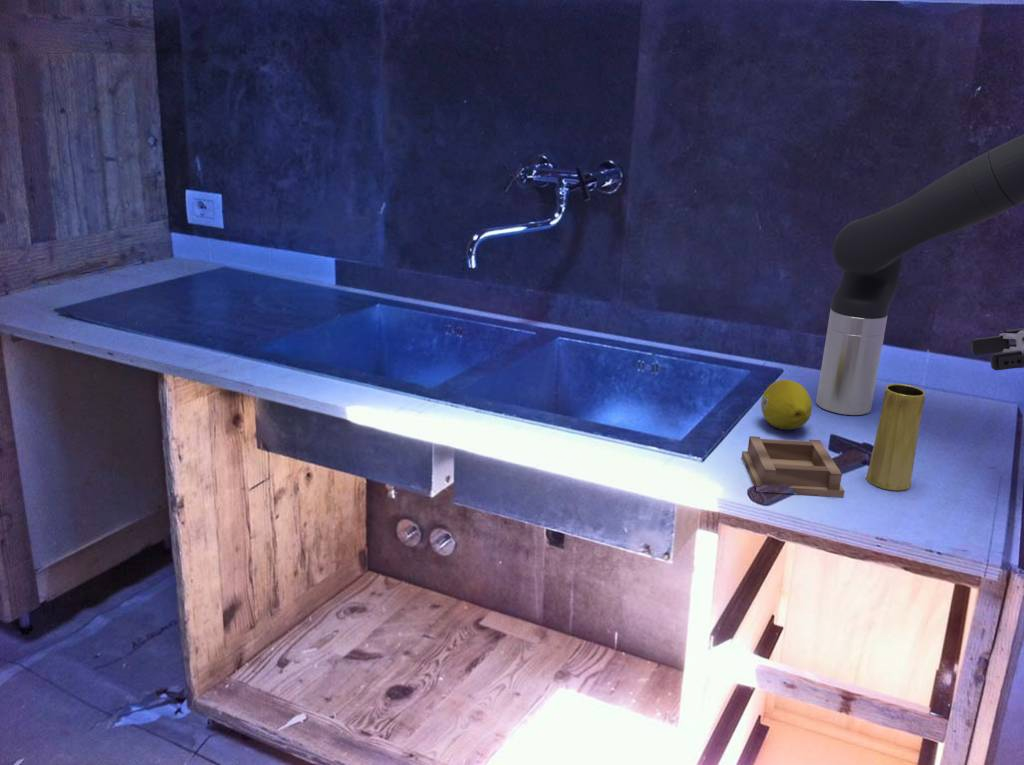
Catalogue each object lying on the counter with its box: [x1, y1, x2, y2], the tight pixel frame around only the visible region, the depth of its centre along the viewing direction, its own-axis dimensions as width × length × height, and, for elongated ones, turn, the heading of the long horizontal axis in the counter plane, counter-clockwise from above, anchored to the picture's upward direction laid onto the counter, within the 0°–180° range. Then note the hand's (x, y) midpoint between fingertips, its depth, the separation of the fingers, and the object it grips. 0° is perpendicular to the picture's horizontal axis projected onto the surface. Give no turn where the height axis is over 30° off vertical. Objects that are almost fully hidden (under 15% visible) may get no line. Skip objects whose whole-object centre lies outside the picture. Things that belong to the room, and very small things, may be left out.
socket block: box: [741, 435, 845, 498], centre depth 136 cm, size 12×12×4 cm
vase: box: [865, 383, 926, 492], centre depth 133 cm, size 6×6×14 cm
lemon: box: [760, 379, 813, 430], centre depth 153 cm, size 11×8×8 cm
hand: (981, 354), depth 129 cm, fingers open, 8 cm apart
